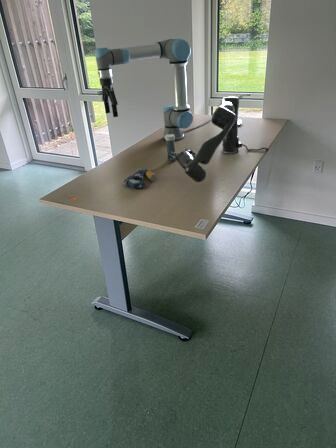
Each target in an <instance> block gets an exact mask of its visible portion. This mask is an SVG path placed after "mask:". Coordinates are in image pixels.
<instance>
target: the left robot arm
mask: <svg viewBox="0 0 336 448" xmlns="http://www.w3.org/2000/svg"><path fill="white" fill-rule="evenodd" d="M191 52H192V51H191V45H190V44H189V42H188V41H186V39H182V38H169V39H164V40H161V41H155V42H154V43H153V44H144V45H135V46H127V47H119V48H108V47H97V48H95V50H94V57H95V62H96V66H97V75H98V78H99V84H100V86H101V101H102V102H103V105H104V110H105V114H110V113H111V111H112V115H113V116H112V117H113V118H118V117H119V113H118V105H119V104H118V100H117V97H116V93H115V89H114V87H112V86H113V85H114V80H113V73H112V66H117V65H125V64H128V63H130V62H131V61H139V60H146V59H154V58H156V59H157V60H159V59H163V60H165V59H166V60H168V61H169V62H168V63H169V65H170V66H171V70H172V86H173V87H172V88H173V102H174V104H173V105H166V106H165V107H163V122H164V130H163V135H162V139H163V140H164V141H166V140H165V135H168V134H174V135H175V139H174V142H176V141H180V140H182V139H184V137H185V136H184V133H187V132H190V131H192V130H195V129H197V128H199V127H202V126H204V125H206V124H207V123H209V122H212V121H211V119H209V120H207V121H206V122H204V123H202V124H199V125H198V126H195V127H192V128H190V126H191V125H192V124H193V121H194V115H193V113H192V112H191V109H190V108H191V107H190V105H189V104H188V90H187V71H186V65H188V60H189V58H190V56H191ZM109 102H110V103H111V104H110V103H109ZM110 105H111V106H110ZM110 107H111V109H110ZM188 128H189V129H188ZM183 129H184V131H183ZM185 129H187V130H185Z"/></svg>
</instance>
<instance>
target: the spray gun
mask: <svg viewBox="0 0 336 448" xmlns="http://www.w3.org/2000/svg"><path fill="white" fill-rule="evenodd" d="M145 177H146V179H148V180H149V181H150V182H155V181H156V180H157V179H158V176H157V174H156V173H154V172H153V171H152V170H148V168H147V167H145V168H137V170H135V171H134V172H133V173H131V174H130V175H129V176H128V177H126V178H125V179H124V181H123V186H126V187H131V188H133V189H142V188H144V187H145V186H146V183H147V182H146V181H145V180H144V179H145Z"/></svg>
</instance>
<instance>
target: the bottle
mask: <svg viewBox="0 0 336 448" xmlns="http://www.w3.org/2000/svg"><path fill="white" fill-rule="evenodd" d="M165 144H166V153H167V162H169V163H174V162H176V161H177V160H176V159H173V161H170V160H169V158H168V153H170V151H172V152H173V153H175V152H176V144H175V141H174V140H171V141H167V140H165ZM173 156H174V154H173Z"/></svg>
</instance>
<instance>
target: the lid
mask: <svg viewBox="0 0 336 448" xmlns="http://www.w3.org/2000/svg"><path fill="white" fill-rule="evenodd" d="M174 139H175V135H174V134H168V135H165V140H164V141H166V140H167V141H171V140H174Z"/></svg>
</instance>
